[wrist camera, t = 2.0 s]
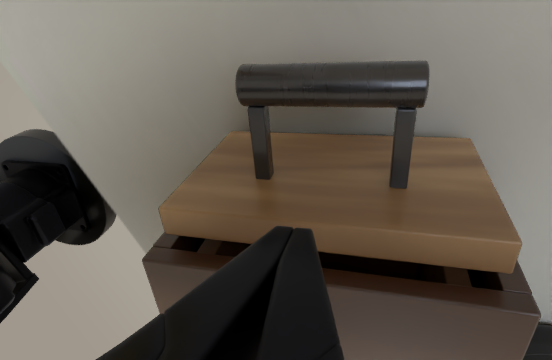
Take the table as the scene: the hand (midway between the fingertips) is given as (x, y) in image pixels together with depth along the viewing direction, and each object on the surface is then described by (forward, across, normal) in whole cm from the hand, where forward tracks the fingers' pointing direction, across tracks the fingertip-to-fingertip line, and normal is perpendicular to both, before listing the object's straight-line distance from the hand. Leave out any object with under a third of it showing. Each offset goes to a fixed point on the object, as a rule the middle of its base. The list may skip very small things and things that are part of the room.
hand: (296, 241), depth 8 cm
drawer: (+10, 0, +6) cm, 12 cm away
